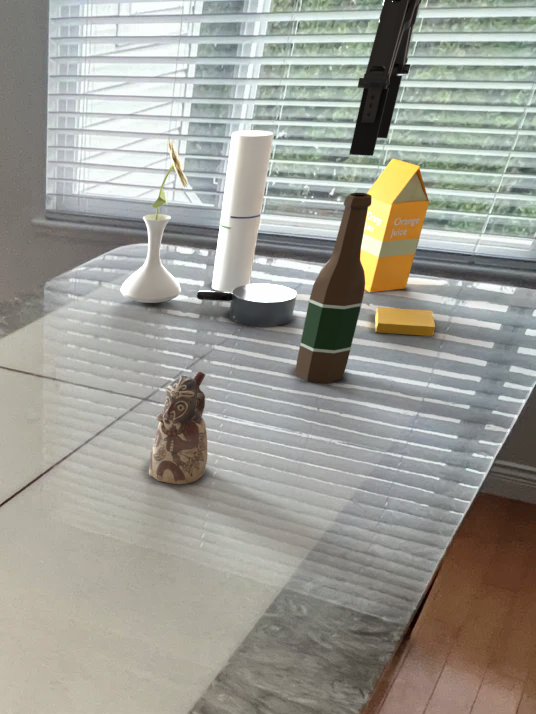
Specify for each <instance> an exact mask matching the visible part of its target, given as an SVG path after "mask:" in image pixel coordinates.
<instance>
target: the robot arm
mask: <svg viewBox="0 0 536 714" xmlns="http://www.w3.org/2000/svg"><path fill="white" fill-rule="evenodd" d="M421 3H422V0H382V8H381V11H380V14H379V19H378V26H377V29H376V32H375V37H374V40H373V44H372V47H371V52H370V56H369V59H368V62H367V66H366V70H365V72H364V74H363V77H359V79H358V83H357V89H363V90H362V95H361V98H360V104H359V108H358V113H357V116H356V117H357V118H356V120H355V121H356V122H355V127H354V131H353V134H352V135H353V136H352V140H351V144H350V149H349V154H348V155H349V156H366V157H367V156H368V157H373V156H374V153H375V150H376V144H377V140H378V139H388V136H389V132H390V128H391V124H392V119H393V115H394V112H395V108H396V103H397V99H398V94H399V91H400V86H401V83H402V78H403V75H409V73H410V69H411V66H412V64H410V63H409V64H408V61H409V58H408V55H409V51H410V45H411V41H412V36H413V32H414V27H415V23H416V20H417V17H418V15H419V10H420V6H421V5H420V4H421Z"/></svg>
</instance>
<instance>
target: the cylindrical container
mask: <svg viewBox="0 0 536 714" xmlns="http://www.w3.org/2000/svg"><path fill="white" fill-rule="evenodd" d="M274 134H275V133H274V132H273V131H269V130H260V129H245V130H236V131H233V132H232V133H231V139H230V146H229V152H228V153H229V154H228V162H227V169H226V175H225V184H224V192H223V200H222V205H221V206H222V207H221V214H220V221H219V231H218V235H217V236H218V237H217V245H216V253H215V258H214V267H213V273H212V274H213V275H212V283H211V288H212V289H213V290H215V291H216V292H230V293H232V292H233V290H234V289H235V288H237V287H240V286H244V285H250V284H251V277H252V271H253V265H254V259H255V253H256V246H257V242H258V241H257V240H258V236H259V235H258V234H259V228H260V223H261V221H260V220H261V214H262V208H263V203H264V196H265V190H266V185H267V178H268V171H269V167H270V165H269V164H270V159H271V153H272V147H273V140H274Z"/></svg>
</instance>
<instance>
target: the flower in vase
mask: <svg viewBox="0 0 536 714" xmlns="http://www.w3.org/2000/svg"><path fill="white" fill-rule="evenodd" d="M167 148H168V152H169V155H170V159H171V164H170V167H169V168H168V171H167V172H166V174H165V177H164V178H163V181H162V183H161V185H160V188H159V192H158V198H157V199H156V200H155V201H154V202H153V203H152V204H151V205H150V207H152V208H154V209H156V212H155V213H150V214H146V215H144V216H142V220H143V221H144V223H145V226H146V229H147V240H148V243H147V255H146V259H145V261H144V263H143V265H142V266H140V267H139V269H137V270H136V271H135V272H133V273H132V274H131V275H130V276H129V277H128V278H126V280H125V281H124V282H123V283H122V285H121V287H120V289H119V291H120V293H121V295H122V296H123V297H124V298H126V299H128V300H130V301H133V302H137V303H144V304H158V303H164V302H168V301H171V300H173V299H175V298H177V297H178V296H179V295H180V294H181V292H182V288H181V284H180V283H179V281H178V280H177V279H176V278H175V277H174V276H173V275H172V274H171V273H170V272H169V271H168V270H167V269H166V267H164V265H163V264H162V260H161V246H162V240H163V235H164V232H165V229H166V226H168V225H167V224H168V223H169V222H170V220H171V219H172V216H170V215H168V214H163V213H159V209H160V207H162V206H166V205H167V204H168V199H167V195H166V192H165V190H164V189H163V188H164V185H165V183H166V181H167V179H168V177H169V175H170V174H171V171H174V172H175V173H176V175H177V179H178V180H179V183H181V185H182V187H183V188H188V186H189V184H188V178H187V176H186V174H185V173H184V170H185V169H184V166H183V164H182V163H181V162H180V160H179V159H180V158H179V157H180V156H179V152H178V150H177V149H175V148H176V147H175V144H174V141H173V140H170V139H169V140H168V141H167Z"/></svg>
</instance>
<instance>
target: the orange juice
mask: <svg viewBox="0 0 536 714" xmlns="http://www.w3.org/2000/svg"><path fill="white" fill-rule="evenodd" d="M420 168H421V166H420V165H417V164H413V163H411V162H407V161H404V160H400V159H396V158H391V160H390V161H389V162H388V163H387V165H386V166H385V168H384V169H383V171H382V172H381V174H379V176H378V177H377V178H376V180H375V181H374V182H373V184H372V186H371V187H370V188H369V189H368V190H367V192H366V194H369V195H371V197H372V203H371V205H370V206H369V207H368V211H367V217H366V223H365V228H364V234H363V239H362V245H361V255H360V261H361V264H362V266H363V269H364V272H365V283H366V284H365V289H364V291H367V292H369V293H373V292H384V291H395V290H404V289H407V284H408V281H409V278H410V274H411V269H412V266H413V263H414V260H415V256H416V253H417V250H418V245H419V241H420V237H421V233H422V230H423V226H424V223H425V219H426V216H427V212H428V208H429V204H430V200H429V197H428V193H427V190H426V186H425V183H424V179H423V176H422V171H421V169H420Z"/></svg>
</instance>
